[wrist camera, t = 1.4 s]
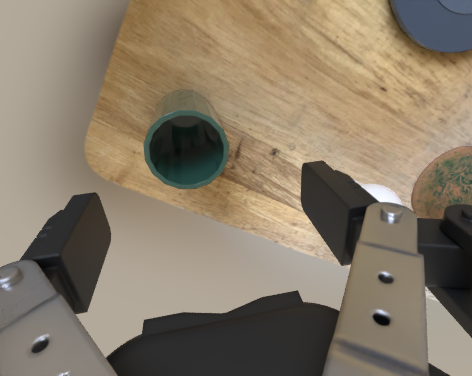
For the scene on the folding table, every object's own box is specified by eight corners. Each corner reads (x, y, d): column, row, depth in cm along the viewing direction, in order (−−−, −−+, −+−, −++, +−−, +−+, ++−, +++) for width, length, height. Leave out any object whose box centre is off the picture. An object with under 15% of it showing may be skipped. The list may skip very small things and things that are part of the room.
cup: (140, 120, 30) (125, 152, 22) (184, 75, 28) (186, 91, 20) (186, 162, 32) (188, 203, 25) (228, 122, 31) (245, 152, 23)
